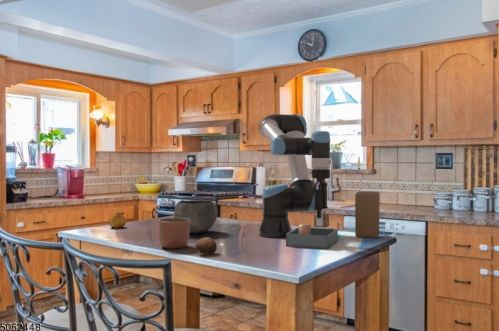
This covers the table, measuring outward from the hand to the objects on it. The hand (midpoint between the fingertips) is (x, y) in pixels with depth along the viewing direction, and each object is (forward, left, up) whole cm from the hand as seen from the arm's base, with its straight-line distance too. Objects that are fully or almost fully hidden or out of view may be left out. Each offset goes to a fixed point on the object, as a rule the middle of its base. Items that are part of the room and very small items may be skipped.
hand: (321, 225), depth 183 cm
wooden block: (+15, +26, -8) cm, 31 cm away
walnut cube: (0, 0, 0) cm, 1 cm away
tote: (-4, 0, -8) cm, 9 cm away
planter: (-54, -27, -8) cm, 61 cm away
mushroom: (-36, -34, -8) cm, 50 cm away
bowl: (-63, +7, -8) cm, 64 cm away
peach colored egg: (-7, 0, -7) cm, 10 cm away
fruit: (-109, +7, -8) cm, 109 cm away
